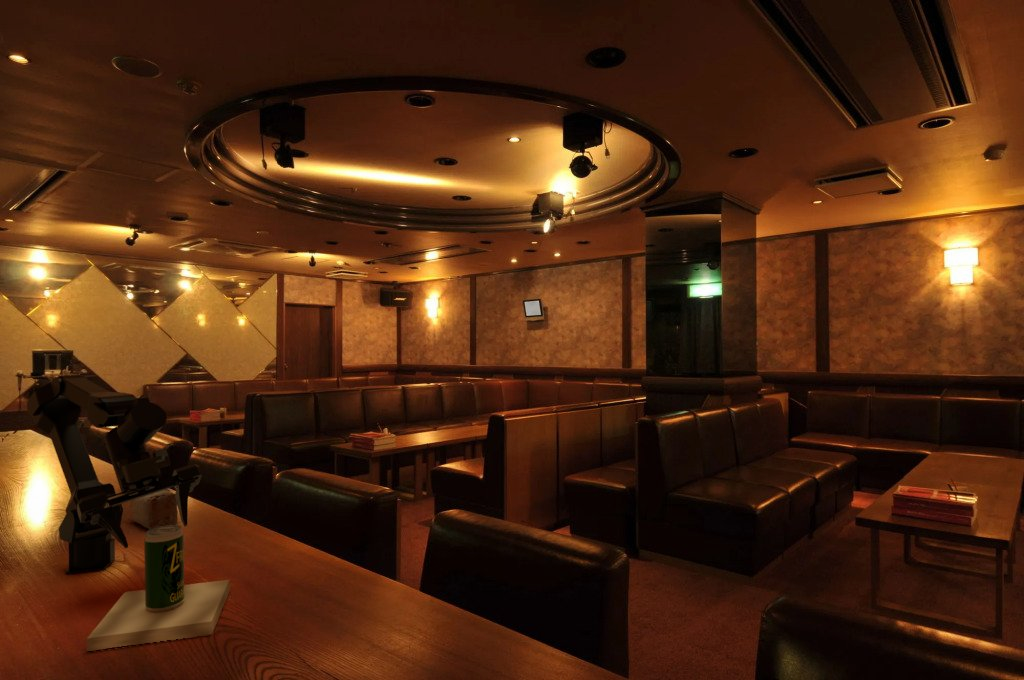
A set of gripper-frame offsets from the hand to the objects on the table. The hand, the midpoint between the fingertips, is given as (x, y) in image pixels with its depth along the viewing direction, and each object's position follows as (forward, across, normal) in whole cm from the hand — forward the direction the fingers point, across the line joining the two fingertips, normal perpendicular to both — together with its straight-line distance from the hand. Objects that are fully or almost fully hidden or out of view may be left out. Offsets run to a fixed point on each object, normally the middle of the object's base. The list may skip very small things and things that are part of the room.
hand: (157, 536), depth 103 cm
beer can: (+13, -3, -6) cm, 14 cm away
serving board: (+14, -3, -5) cm, 15 cm away
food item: (-14, +8, +45) cm, 48 cm away
